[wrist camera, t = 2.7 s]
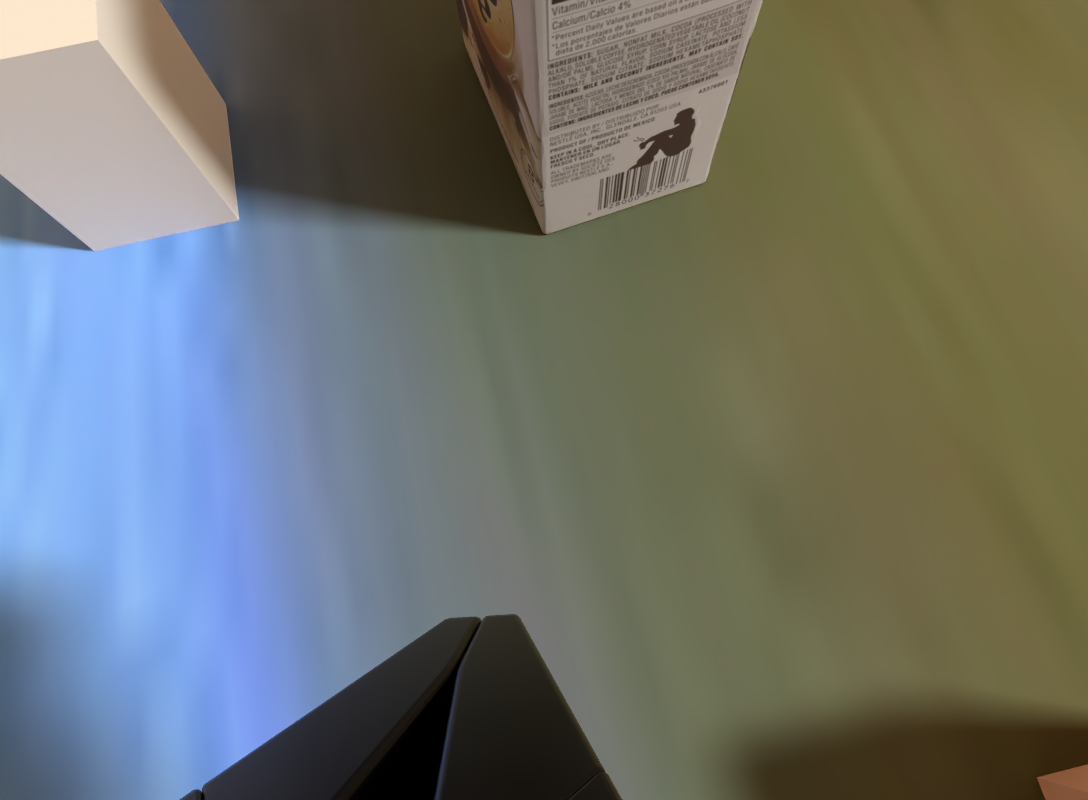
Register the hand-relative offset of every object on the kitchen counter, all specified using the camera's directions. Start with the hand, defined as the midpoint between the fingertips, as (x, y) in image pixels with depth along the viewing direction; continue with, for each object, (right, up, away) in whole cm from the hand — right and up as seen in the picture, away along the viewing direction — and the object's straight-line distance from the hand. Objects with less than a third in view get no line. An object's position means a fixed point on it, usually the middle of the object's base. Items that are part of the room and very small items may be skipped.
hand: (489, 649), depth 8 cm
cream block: (-13, +11, +18) cm, 24 cm away
